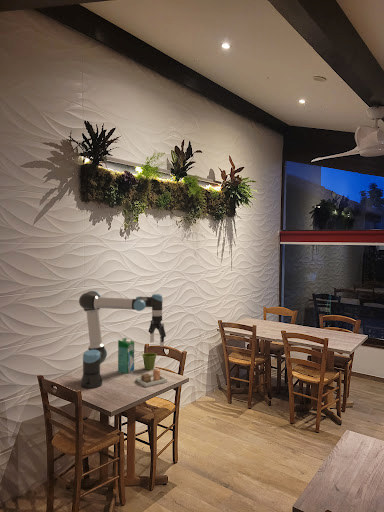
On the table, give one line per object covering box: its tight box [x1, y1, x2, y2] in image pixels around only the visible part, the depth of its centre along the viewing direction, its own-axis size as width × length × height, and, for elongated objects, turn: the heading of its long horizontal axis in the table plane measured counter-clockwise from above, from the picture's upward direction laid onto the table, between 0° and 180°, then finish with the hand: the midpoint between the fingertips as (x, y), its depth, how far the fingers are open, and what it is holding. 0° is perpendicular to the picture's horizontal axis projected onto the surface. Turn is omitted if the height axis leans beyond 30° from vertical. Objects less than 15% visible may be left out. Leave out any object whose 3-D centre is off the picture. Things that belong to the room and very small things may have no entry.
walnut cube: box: [140, 373, 151, 383], centre depth 293 cm, size 5×5×5 cm
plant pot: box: [141, 352, 158, 371], centre depth 325 cm, size 12×12×11 cm
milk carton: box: [117, 337, 135, 374], centre depth 318 cm, size 9×9×25 cm
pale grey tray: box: [135, 373, 168, 388], centre depth 296 cm, size 17×15×2 cm
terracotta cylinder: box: [152, 368, 161, 381], centre depth 298 cm, size 5×5×7 cm
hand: (156, 344), depth 297 cm, fingers open, 13 cm apart
